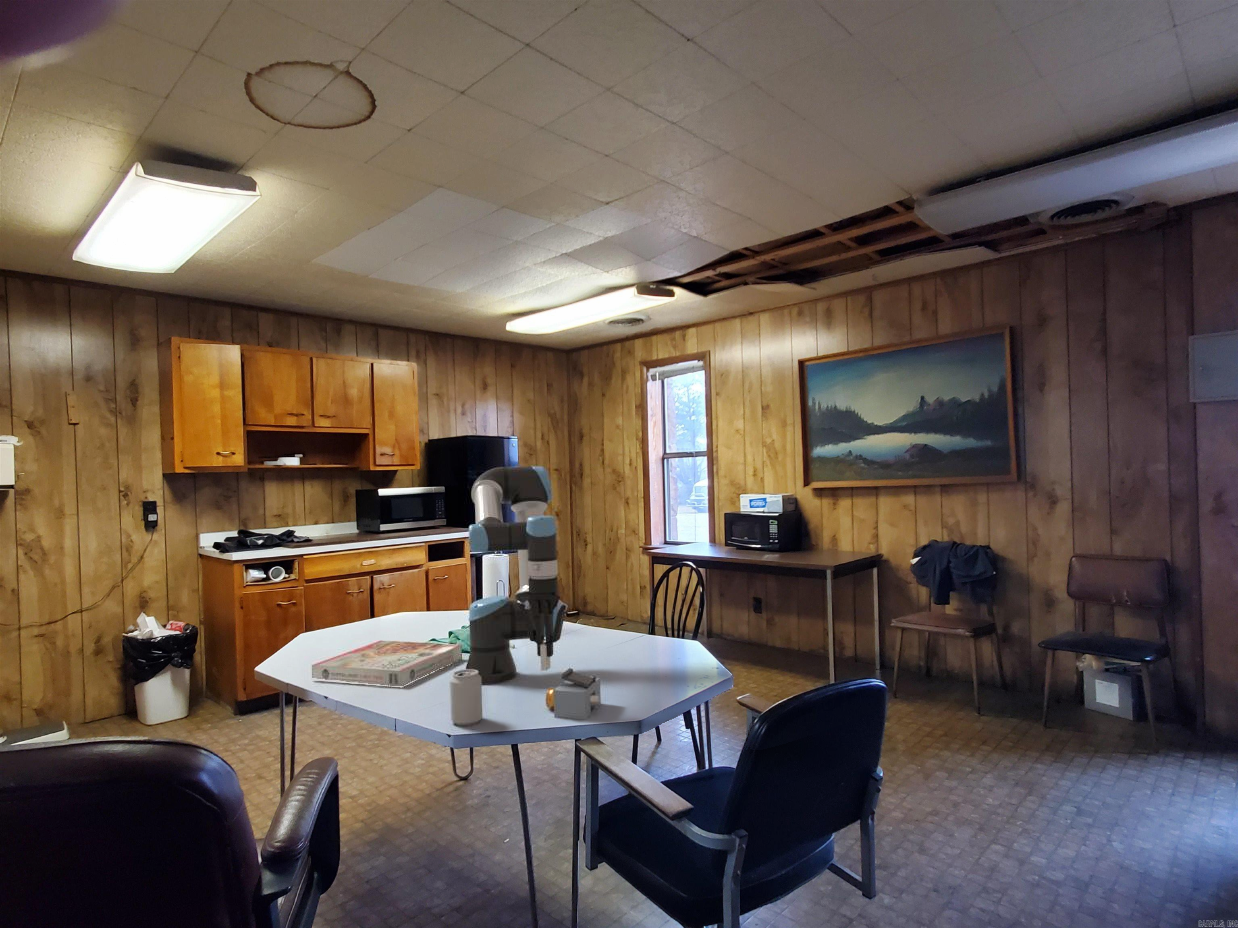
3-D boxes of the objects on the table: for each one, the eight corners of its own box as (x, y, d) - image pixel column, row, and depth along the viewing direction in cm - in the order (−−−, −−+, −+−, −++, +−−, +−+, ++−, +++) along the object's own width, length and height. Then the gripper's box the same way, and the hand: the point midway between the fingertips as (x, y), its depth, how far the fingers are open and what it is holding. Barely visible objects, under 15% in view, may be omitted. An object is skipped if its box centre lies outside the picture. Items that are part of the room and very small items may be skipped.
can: (461, 715, 174) (459, 666, 175) (488, 717, 172) (486, 668, 173) (445, 725, 167) (443, 675, 168) (473, 727, 165) (471, 676, 165)
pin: (546, 710, 175) (545, 690, 175) (553, 704, 180) (553, 684, 180) (595, 714, 171) (594, 693, 172) (601, 707, 176) (600, 687, 176)
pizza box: (380, 640, 240) (461, 644, 230) (381, 655, 240) (462, 660, 230) (311, 664, 210) (401, 671, 200) (312, 682, 210) (401, 689, 200)
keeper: (559, 679, 173) (561, 674, 173) (569, 672, 180) (571, 666, 180) (587, 688, 171) (588, 683, 171) (596, 680, 178) (597, 675, 178)
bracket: (554, 716, 171) (553, 690, 171) (571, 701, 182) (570, 676, 182) (585, 719, 169) (584, 691, 169) (600, 703, 180) (599, 677, 180)
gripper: (513, 578, 177) (516, 671, 177) (561, 579, 173) (564, 674, 173) (525, 573, 184) (528, 663, 184) (572, 574, 180) (574, 666, 180)
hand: (545, 668), depth 178 cm, fingers closed
